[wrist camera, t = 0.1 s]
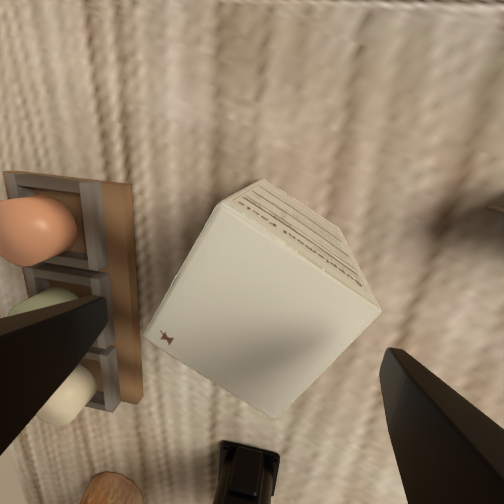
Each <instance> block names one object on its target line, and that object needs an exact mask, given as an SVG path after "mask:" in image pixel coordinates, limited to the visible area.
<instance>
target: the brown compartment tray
mask: <svg viewBox="0 0 504 504" xmlns="http://www.w3.org/2000/svg"><path fill="white" fill-rule="evenodd" d="M3 176H4V181H5V186H6V191H7V196H8V200H9V199H15V198H22V197H28V196H35V195H49V196H52V197H54V198H56V199H58V200H59V201H61V202H62V203H63V204H64V205H65V206H66V207H67V208H68V209H69V210H70V212H71V213H72V215H73V217H74V219H75V222H76V226H77V239H76V242H75V244H74V246H73V247H72V248H71V249H70V250H68V251H66V252H64V253H61V254H59V255H56V256H54V257H52V258H49V259H47V260H44V261H42V262H39V263H37V264H34V265H32V266H22V269H23V274H24V279H25V284H26V289H27V293H28V298H31V297H33V296H35V295H37V294H39V293H40V292H42V291H44V290H46V289H48V288H51V287H61V288H65V289H67V290H69V291H71V292H73V293H74V294H75V295H76V296H78V297H79V298H82V297H86V296H90V295H97V296H103V297H105V298H106V300H107V307H108V323H107V325H106V327H105V328H104V330H103V331H102V333H101V334H100V335H99V337H98V338H97V340H96V341H95V342H94V344H93V345H92V347H91V348H90V349H89V351H88V352H87V354H86V355H85V356H84V358H83V359H82V360H81V362H80V363H79V364H80V365H82V366H84V367H85V368H86V369H87V370H89V371H90V373H91V374H92V375H93V377H94V378H95V380H96V384H97V391H96V393H95V395H94V396H93V397H92V398H91V400H90V401H89V402H88V403H87V404H86V405H85V406H86V407H90V408H95V409H99V410H103V411H108V412H112V413H113V412H114V411H115V409H116V408H117V406H118V405H119V404H120V402H121V401H123V402H128V403H132V404H136V405H137V404H138V403H139V401H140V400H141V398H142V397H143V382H142V364H141V346H140V328H139V310H138V292H137V274H136V256H135V238H134V220H133V202H132V184H125V183H116V182H108V181H99V180H91V179H82V178H74V177H65V176H57V175H48V174H40V173H31V172H23V171H3Z"/></svg>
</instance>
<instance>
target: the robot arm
mask: <svg viewBox="0 0 504 504" xmlns="http://www.w3.org/2000/svg"><path fill="white" fill-rule="evenodd" d="M107 323H108V307H107V300H106V298H105V297H103V296H97V295H90V296H86V297H82V298H79V299H75V300H71V301H67V302H63V303H59V304H55V305H51V306H47V307H43V308H39V309H35V310H32V311H28V312H24V313H20V314H16V315H12V316H8V317H4V318H0V455H1V454H2V453H3V452H4V451H5V450H6V449H7V447H8V446H9V445H10V444H11V443H12V442H13V440H14V439H15V438H16V437H17V436H18V435H19V433H20V432H21V431H22V430H23V429H24V428H25V426H26V425H27V424H28V423H29V422H30V421H31V419H32V418H33V417H34V416H35V415H36V414H37V412H38V411H39V410H40V409H41V408H42V407H43V405H44V404H45V403H46V402H47V401H48V400H49V398H50V397H51V396H52V395H53V394H54V393H55V391H56V390H57V389H58V388H59V387H60V386H61V384H62V383H63V382H64V381H65V380H66V379H67V378H68V376H69V375H70V374H71V373H72V372H73V371H74V369H75V368H76V367H77V366H78V364H79V363H80V362H81V360H82V359H83V358H84V356H85V355H86V354H87V352H88V351H89V349H90V348H91V347H92V345H93V344H94V342H95V341H96V340H97V338H98V337H99V335H100V334H101V333H102V331H103V330H104V328H105V327H106V325H107ZM379 377H380V384H381V390H382V396H383V402H384V409H385V415H386V421H387V427H388V431H389V435H390V439H391V443H392V447H393V450H394V454H395V458H396V461H397V465H398V469H399V472H400V476H401V479H402V483H403V487H404V490H405V494H406V498H407V501H408V504H504V429H503V428H501V427H500V426H499V425H498V424H496V423H495V422H494V421H493V420H491V419H490V418H489V417H488V416H486V415H485V414H484V413H482V412H481V411H480V410H479V409H477V408H476V407H475V406H474V405H472V404H471V403H470V402H469V401H467V400H466V399H465V398H464V397H462V396H461V395H460V394H458V393H457V392H456V391H455V390H453V389H452V388H451V387H450V386H448V385H447V384H446V383H445V382H443V381H442V380H441V379H440V378H438V377H437V376H436V375H434V374H433V373H432V372H431V371H429V370H428V369H427V368H426V367H424V366H423V365H422V364H421V363H419V362H418V361H417V360H416V359H414V358H413V357H412V356H410V355H409V354H408V353H407V352H405V351H404V350H402V349H398V348H392V347H389V348H387V349H386V351H385V354H384V358H383V361H382V364H381V367H380V373H379ZM279 462H280V456H279V455H278V454H277V453H273V452H269V451H264V450H260V449H256V448H252V447H247V446H243V445H239V444H234V443H230V442H225V441H224V442H222V444H221V450H220V464H219V477H218V485H217V489H216V493H215V497H214V501H213V504H271V496H273V495H274V491H275V485H276V479H277V474H278V468H279Z"/></svg>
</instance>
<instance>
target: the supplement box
mask: <svg viewBox="0 0 504 504" xmlns="http://www.w3.org/2000/svg"><path fill="white" fill-rule="evenodd" d="M381 312H382V310H381V308H380V306H379V304H378V302H377V300H376V298H375V296H374V294H373V292H372V290H371V288H370V286H369V284H368V282H367V280H366V279H365V277H364V275H363V273H362V271H361V269H360V267H359V265H358V263H357V262H356V260H355V257H354V255H353V254H352V251H351V249H350V247H349V245H348V243H347V241H346V239H345V237H344V235H343V233H342V231H341V230H340V228H339V227H337V226H335V225H334V224H332V223H331V222H329V221H328V220H326V219H325V218H323V217H322V216H320V215H319V214H317V213H316V212H314V211H312V210H311V209H309V208H308V207H306V206H305V205H303V204H302V203H300V202H299V201H297V200H296V199H294V198H293V197H291V196H290V195H288V194H287V193H285V192H284V191H282V190H281V189H279V188H278V187H276V186H275V185H273V184H272V183H270V182H269V181H267V180H265V179H264V178H261V179H260V180H258V181H257V182H255V183H253V184H251V185H249V186H247V187H245V188H244V189H242V190H240V191H238V192H236V193H234V194H232V195H230V196H229V197H227V198H225V199H223V200H222V201H220V202H219V203H218V204H217V205H216V207H215V208H214V210H213V212H212V214H211V215H210V217H209V219H208V221H207V222H206V224H205V226H204V228H203V230H202V231H201V233H200V235H199V237H198V238H197V240H196V242H195V244H194V245H193V247H192V249H191V251H190V253H189V254H188V256H187V258H186V260H185V261H184V263H183V265H182V266H181V268H180V270H179V271H178V273H177V275H176V276H175V278H174V280H173V281H172V283H171V286H170V288H169V290H168V291H167V293H166V295H165V297H164V298H163V300H162V302H161V304H160V306H159V307H158V309H157V311H156V312H155V314H154V316H153V318H152V319H151V321H150V323H149V325H148V326H147V328H146V330H145V331H144V333H143V337H144V338H145V339H147V340H148V341H150V342H151V343H153V344H154V345H156V346H157V347H158V348H160V349H161V350H163V351H165V352H166V353H168V354H169V355H171V356H172V357H174V358H175V359H177V360H179V361H180V362H182V363H183V364H185V365H187V366H188V367H190V368H192V369H193V370H195V371H196V372H198V373H199V374H201V375H203V376H204V377H206V378H208V379H209V380H211V381H213V382H214V383H216V384H217V385H219V386H220V387H222V388H224V389H225V390H227V391H228V392H230V393H232V394H233V395H235V396H236V397H238V398H240V399H241V400H243V401H245V402H246V403H248V404H249V405H251V406H253V407H254V408H255V409H257V410H259V411H260V412H262V413H264V414H266V415H268V416H269V417H271V418H273V419H278V418H279V417H280V416H281V415H282V414H283V413H284V412H285V411H286V410H287V409H288V408H289V407H290V406H291V405H292V403H293V402H294V401H295V400H296V399H297V398H298V397H299V396H300V395H301V394H302V393H303V392H304V391H305V390H306V389H307V388H308V387H309V386H310V385H311V384H312V383H313V382H314V381H315V380H316V379H317V378H318V377H319V376H320V375H321V374H322V373H323V372H324V371H325V370H326V369H327V368H328V367H329V365H330V364H331V363H332V362H333V361H334V360H335V359H336V358H337V357H338V356H339V355H340V354H341V353H342V352H343V351H344V350H345V349H346V348H347V347H348V346H349V345H350V344H351V343H352V342H353V341H354V340H355V339H356V338H357V337H358V336H359V335H360V334H361V333H362V332H363V331H364V330H365V329H366V328H367V327H368V326H369V325H370V324H371V323H372V322H373V320H374V319H376V318H377V317H378V316H379V315H380V314H381Z"/></svg>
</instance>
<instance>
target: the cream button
mask: <svg viewBox="0 0 504 504" xmlns="http://www.w3.org/2000/svg"><path fill="white" fill-rule="evenodd" d="M96 391H97V384H96V380H95V378H94V377H93V375H92V374H91V373H90V371H89V370H87V369H86V368H85V367H84V366H82V365H80V364H78V366H77V367H76V368H75V369H74V371H73V372H72V373H71V374H70V375H69V376H68V378H67V379H66V380H65V381H64V382H63V383H62V384H61V386H60V387H59V388H58V389H57V390H56V391H55V393H54V394H53V395H52V396H51V397H50V398H49V400H48V401H47V402H46V403H45V404H44V405H43V407H42V408H41V409H40V410H39V411H38V412H37V414H36V416H37V417H39V418H40V419H41V420H43V421H45V422H47V423H49V424H52V425H56V426H65V425H68V424H69V423H71V421H72V420H73V419H74V418H75V417H76V416H77V415H78V413H79V412H80V411H81V410H82V409H83V408H84V407H85V405H86V404H87V403H88V402H89V401H90V400H91V398H92V397H93V396H94V395H95V393H96Z"/></svg>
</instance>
